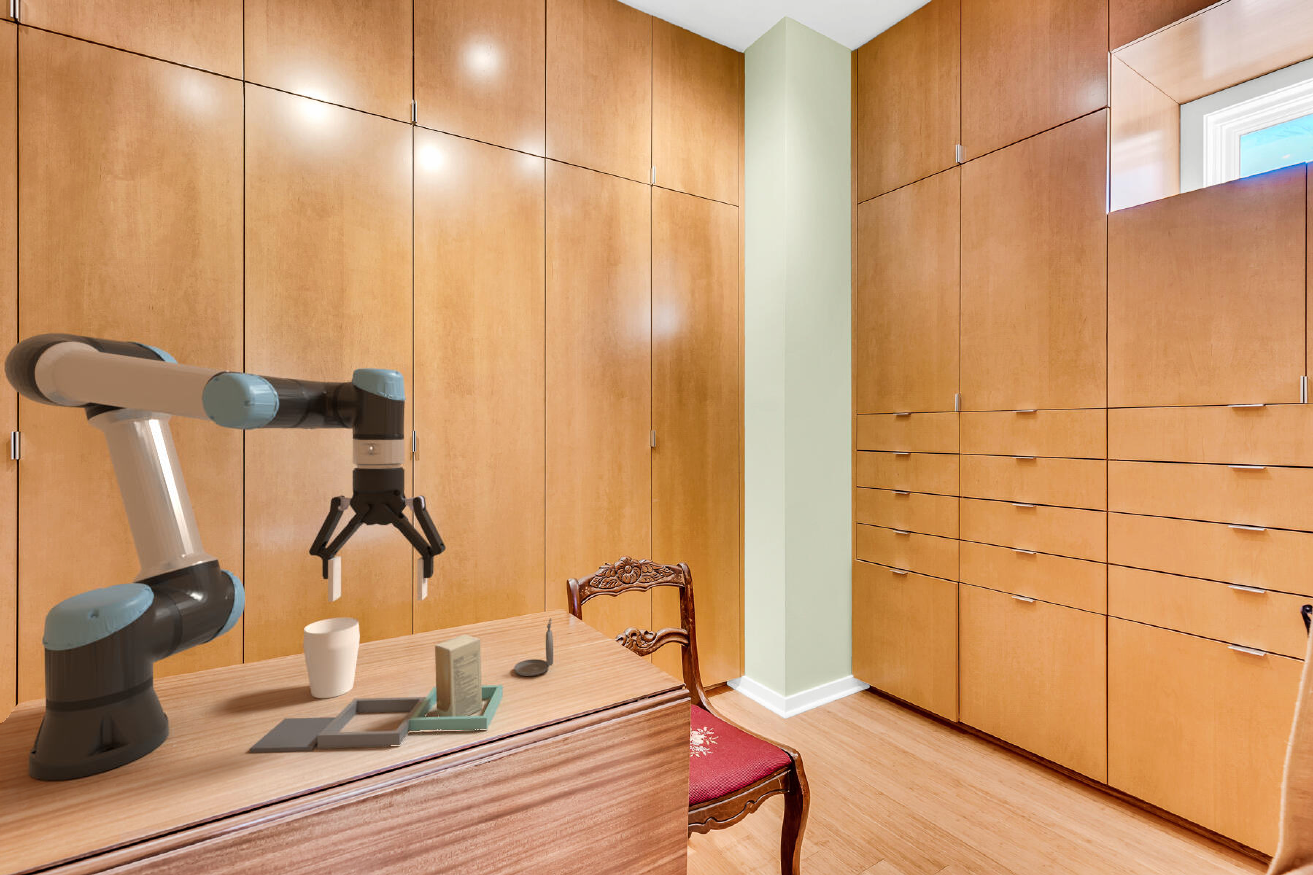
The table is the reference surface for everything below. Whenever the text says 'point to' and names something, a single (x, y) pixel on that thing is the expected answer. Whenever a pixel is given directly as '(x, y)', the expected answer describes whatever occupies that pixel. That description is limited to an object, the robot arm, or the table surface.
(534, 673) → the pocket watch
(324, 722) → the slate mat
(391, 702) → the grey frame
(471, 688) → the skincare box
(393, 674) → the table surface
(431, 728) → the teal frame
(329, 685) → the cup
